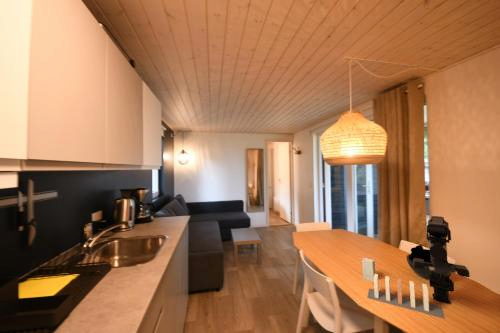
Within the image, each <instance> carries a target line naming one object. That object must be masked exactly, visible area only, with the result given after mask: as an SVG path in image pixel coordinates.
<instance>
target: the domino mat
mask: <svg viewBox="0 0 500 333" xmlns="http://www.w3.org/2000/svg"><path fill="white" fill-rule="evenodd" d="M366 298H367V299H370V300H373V301H378V302H382V303H385V304H389V305H392V306H397V307H400V308H403V309H407V310H410V311H414V312H418V313H422V314H424V315H428V316H429V315H430V316H432V317H437V318H439V319H445V320H446V317H445V314H444V311H443V307H442V305H439V304H434V303H430V302H429V311H425V310H424V305H423V300H417V299H415V308H414V307H411V301H410V297H406V296H402V304H399V303H398V294H393V293H390V301H387V300H386V291H382V290H381V291H380V290H379V297H378V298H376V297H375V292H374V289H373V288H368V293H367V297H366Z"/></svg>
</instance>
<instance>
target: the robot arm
mask: <svg viewBox="0 0 500 333" xmlns="http://www.w3.org/2000/svg"><path fill="white" fill-rule="evenodd" d="M444 218H445V217H443V216H439V215H437V216H435V215H433V216H431V219H429V220H427V225H426V240H427V241H429V249H428V250H429V252H430V254H431V263H428V262H424V260H423V259H419V258H414V259H413V262H414V267H415V268H419V269H424V268H425V266H426V267H429V270H430V272H431V274H429V280H428V281H429V287H431V288H433V293H432V294H431V295H432V298H433V301H435V302H439V303H443V304H447V305H452V301H451V299H450V294H449V292H451V293H453V292H455V282H454V281H453V279H452V278H451V276H452V274H453V273H455V274H456V273H457V275H459V276H460V277H465V278H470V277H471V276H470V275H471V274H470V270H469V269H468V267H467V266H466V265H461V264H456V263H451V262H449V261H448V246H447V245H448V244H450V241H452V233H451V229H450V228H449V222H448V221H446V220H445V219H444ZM447 243H448V244H447Z"/></svg>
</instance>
